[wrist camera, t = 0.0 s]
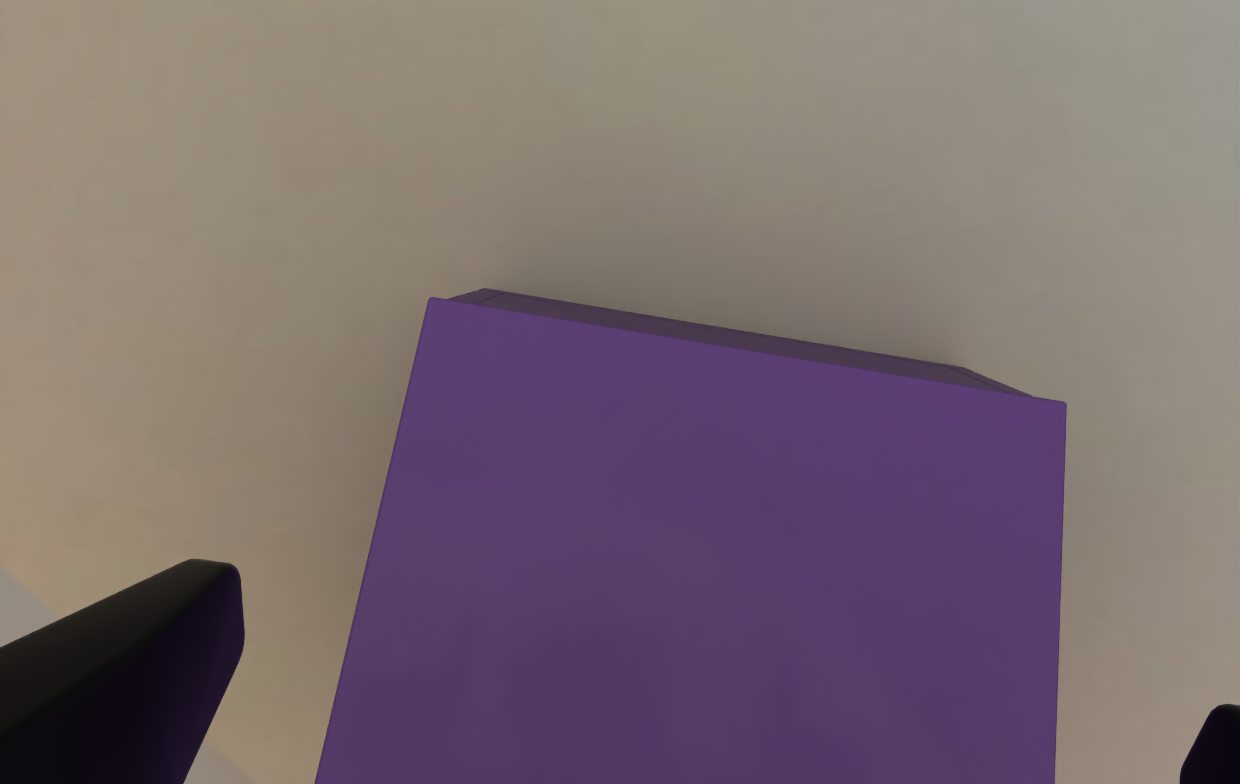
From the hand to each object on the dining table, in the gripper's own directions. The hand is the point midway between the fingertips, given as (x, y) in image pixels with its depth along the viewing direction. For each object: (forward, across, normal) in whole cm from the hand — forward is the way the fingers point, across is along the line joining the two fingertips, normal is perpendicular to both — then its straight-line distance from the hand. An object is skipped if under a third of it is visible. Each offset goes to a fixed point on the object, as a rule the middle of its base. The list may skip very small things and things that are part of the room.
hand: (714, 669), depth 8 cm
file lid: (+7, -1, +6) cm, 10 cm away
